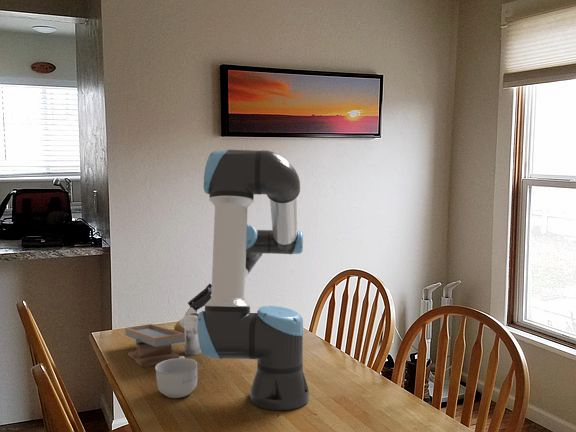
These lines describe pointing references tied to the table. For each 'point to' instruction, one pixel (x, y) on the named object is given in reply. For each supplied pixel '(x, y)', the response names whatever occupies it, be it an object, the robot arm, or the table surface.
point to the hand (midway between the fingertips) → (194, 331)
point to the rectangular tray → (154, 335)
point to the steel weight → (191, 334)
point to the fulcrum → (151, 354)
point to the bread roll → (179, 327)
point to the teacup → (176, 377)
